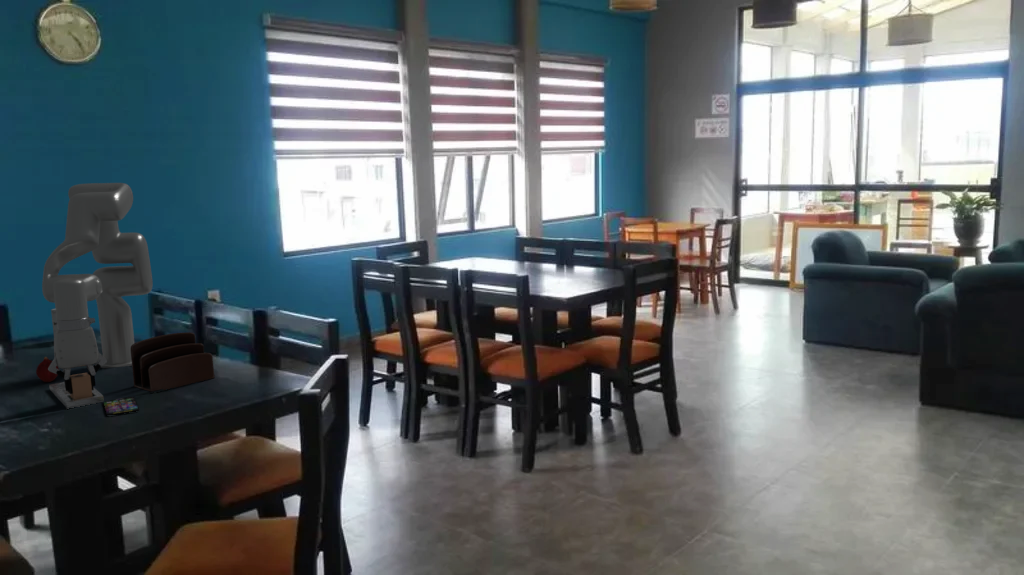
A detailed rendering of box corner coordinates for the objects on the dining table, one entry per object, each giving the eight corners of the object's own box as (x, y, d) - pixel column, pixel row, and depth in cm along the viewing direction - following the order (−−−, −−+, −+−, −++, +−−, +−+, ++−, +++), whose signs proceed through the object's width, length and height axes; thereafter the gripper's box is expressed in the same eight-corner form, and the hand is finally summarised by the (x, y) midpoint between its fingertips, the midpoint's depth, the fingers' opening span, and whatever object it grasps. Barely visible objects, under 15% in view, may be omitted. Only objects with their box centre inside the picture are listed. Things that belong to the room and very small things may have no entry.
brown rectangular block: (88, 393, 226) (86, 372, 225) (92, 397, 223) (90, 375, 222) (70, 397, 223) (68, 375, 222) (74, 400, 220) (71, 378, 219)
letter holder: (133, 389, 237) (128, 340, 234) (197, 373, 252) (193, 328, 250) (151, 394, 230) (146, 345, 228) (215, 378, 246) (211, 332, 243)
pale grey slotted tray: (84, 385, 241) (83, 378, 241) (104, 403, 222) (103, 395, 222) (50, 391, 236) (49, 384, 235) (67, 409, 217) (66, 402, 217)
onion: (64, 381, 246) (61, 355, 245) (46, 386, 241) (43, 359, 240) (51, 379, 248) (48, 354, 247) (33, 384, 243) (30, 358, 242)
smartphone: (134, 396, 226) (139, 409, 213) (135, 399, 227) (140, 413, 214) (102, 400, 223) (106, 415, 210) (103, 404, 223) (106, 418, 210)
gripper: (104, 318, 228) (111, 382, 231) (35, 327, 218) (43, 394, 221) (111, 322, 222) (118, 387, 225) (40, 331, 212) (48, 400, 215)
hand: (80, 390), depth 223 cm, fingers closed on brown rectangular block, 4 cm apart
